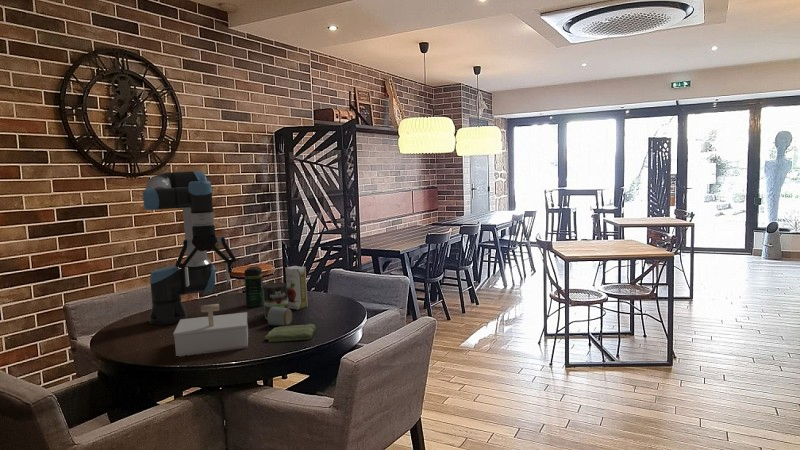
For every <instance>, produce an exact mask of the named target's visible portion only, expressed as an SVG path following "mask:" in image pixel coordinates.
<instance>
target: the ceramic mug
mask: <svg viewBox="0 0 800 450" xmlns="http://www.w3.org/2000/svg"><path fill="white" fill-rule="evenodd" d="M292 311H293V310H291V308H281V307H271V308H270V309H269V312H268V317H267V319H266V320H267V323H268V324H269V326H276V327H277V326H278V327H283V326H290V325H291V322H292V321H293V312H292Z"/></svg>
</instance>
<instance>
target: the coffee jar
mask: <svg viewBox="0 0 800 450" xmlns="http://www.w3.org/2000/svg"><path fill="white" fill-rule="evenodd" d="M262 272H263V270H262V267H259V266H257V265H256V266H255V265H254V266H249V267H248V268H246V269H245V270H244V272H243V273H244V284H245V285H244V286H245V304H246V307H248V308H249V307H250V308H257V307H261V306H263V305H264V292H263V286H264V285H263V273H262Z"/></svg>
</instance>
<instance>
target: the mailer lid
mask: <svg viewBox="0 0 800 450" xmlns="http://www.w3.org/2000/svg"><path fill="white" fill-rule="evenodd" d="M216 311H218V312H219V311H220V304H219V303H215V304H213V303H212V304H204V305H200V312H201V313H207V316H201V317H191V318H186V319H180V321H179V322H177V325H176V328H175V329H174V331H173V333H172V334H173V335H172V336H173V337H174V336H177V335H186V334H194V333H203V332H211V331H220V330H228V329H237V328H246V327H247V324H248V312H247V311H245V312H236V313H227V314H219V315H214V312H216Z"/></svg>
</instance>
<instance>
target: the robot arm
mask: <svg viewBox="0 0 800 450" xmlns="http://www.w3.org/2000/svg"><path fill="white" fill-rule="evenodd" d="M142 199H143V200H142V201H143V208H144V210H147V211H157V210H168V209H169V210H170V209H182V216H183V229H184V230H183V231H184V240H183V244H182V248H181V250H180V253H179V256H178V258H177V260H176V262H175V265H169V266H166V267H161V268H157V269H154V270H152V272H150V274H149V281H150V282H149V284H150V293H151V304H152V305H151V309H150V312H149V316H148V319H149V322H148V323H149V324H150V325H152V324H153V325H152V326H167V325H172V324H178V323H179V321H180V319H188V314H187V313H188V312H187V311H186V310H187V309H186V308H185V306H184V305H183V301H182V296H185V295H191V294H193V295H194V294H200V293H201V294H202V293H203V294H204V293H206V292H211V291H213V290H214V289H215V285H216V266H215V265H214V264H212V261H211V260H210V258H208V252H209V251H213V252H215V253H216V254H217V255H218V256H219V257H220V258H221V259H222V260H223V261H224V262H225V275H226V283H227V284H229V283H230V275H229V274H232V272H233V268H232V265H233V263H235V262H236V261H237V258H236V255H234V254H233V251H232V249H230V247H229V245H228V244H227V242H226V237H225V236H221V237H217V236H216V228H215V224H214V223H215V215H214V213H215V212H214V205H213V204H214V203H213V189H212V183H211V181H210V180H208V179H207V175H206V173H205V172H203V171H196V170H195V171H194V170H190V171H172V172H171V171H169V172H163V173H162V172H161V173H159V174H157V175H154V176H152V177H150V178H149V179H148V180H147V181H146V184H145V189H144V190H143V191H142ZM217 242H219V244H221V245H222V246H223V248H224V250H225V251H226V253H227V254H228V256H229V257H230V258H229V257H228V256H227V255H226V254H224V252H222V251H221V250H220V248H218V246H217V245H216V244H217ZM185 253H186V259H185V260H184V261H183V262H182V260H183V258H184V256H185ZM181 262H182V263H181ZM166 324H167V325H166Z"/></svg>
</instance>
